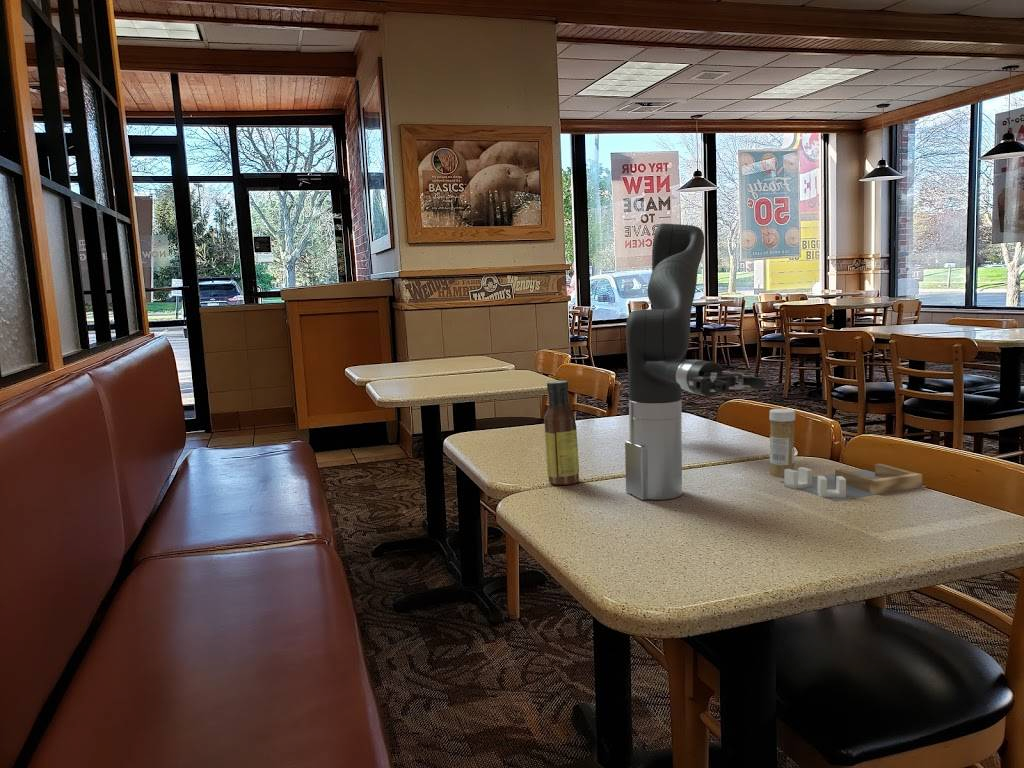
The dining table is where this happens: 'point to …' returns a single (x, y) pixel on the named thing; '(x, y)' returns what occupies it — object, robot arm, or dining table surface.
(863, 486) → the end holder
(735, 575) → the dining table surface
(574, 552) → the dining table surface
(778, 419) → the sprinkles bottle
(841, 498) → the board
